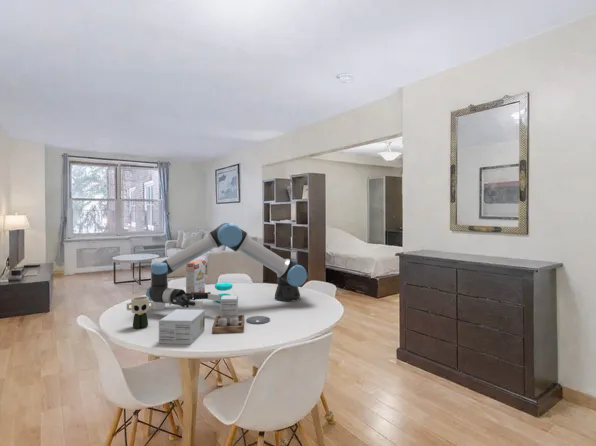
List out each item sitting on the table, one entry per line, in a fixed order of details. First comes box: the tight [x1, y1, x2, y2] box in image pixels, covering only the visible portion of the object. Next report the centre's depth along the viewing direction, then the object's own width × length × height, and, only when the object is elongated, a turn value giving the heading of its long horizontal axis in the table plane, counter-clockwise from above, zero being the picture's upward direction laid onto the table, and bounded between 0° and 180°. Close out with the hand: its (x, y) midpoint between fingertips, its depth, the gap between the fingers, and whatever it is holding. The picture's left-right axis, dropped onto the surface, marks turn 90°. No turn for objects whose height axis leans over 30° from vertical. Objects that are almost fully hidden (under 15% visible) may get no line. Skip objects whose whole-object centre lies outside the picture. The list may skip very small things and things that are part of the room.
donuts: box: [214, 282, 233, 303], centre depth 208 cm, size 10×10×10 cm
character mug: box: [126, 295, 154, 329], centre depth 160 cm, size 11×7×13 cm, turn 114°
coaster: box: [245, 315, 271, 325], centre depth 170 cm, size 11×11×1 cm
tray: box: [211, 314, 245, 335], centre depth 161 cm, size 13×18×5 cm
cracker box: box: [185, 259, 206, 293], centre depth 221 cm, size 14×6×21 cm, turn 168°
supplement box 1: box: [158, 308, 206, 345], centre depth 148 cm, size 17×13×9 cm
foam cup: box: [148, 282, 169, 311], centre depth 192 cm, size 10×9×13 cm
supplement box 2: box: [220, 294, 239, 323], centre depth 164 cm, size 7×7×13 cm
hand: (211, 301), depth 167 cm, fingers open, 13 cm apart
